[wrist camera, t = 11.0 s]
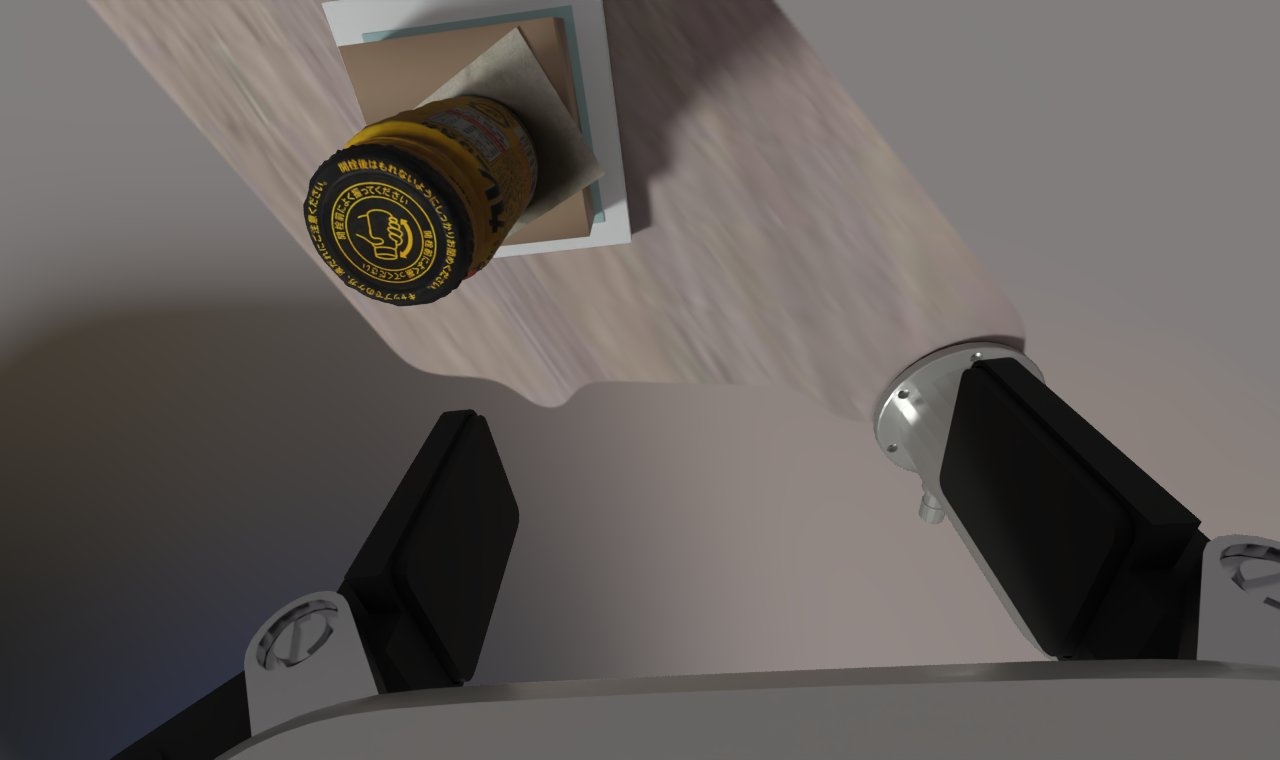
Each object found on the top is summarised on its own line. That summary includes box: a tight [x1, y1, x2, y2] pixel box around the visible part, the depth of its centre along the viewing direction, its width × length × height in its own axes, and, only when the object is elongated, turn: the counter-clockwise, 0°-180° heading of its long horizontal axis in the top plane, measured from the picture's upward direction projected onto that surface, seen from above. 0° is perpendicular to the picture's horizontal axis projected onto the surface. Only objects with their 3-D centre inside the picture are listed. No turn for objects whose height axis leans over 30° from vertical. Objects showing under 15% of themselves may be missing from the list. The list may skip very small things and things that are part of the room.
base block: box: [338, 17, 595, 246], centre depth 28 cm, size 10×10×4 cm
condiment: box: [303, 27, 605, 306], centre depth 22 cm, size 7×8×12 cm
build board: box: [322, 0, 632, 258], centre depth 30 cm, size 14×14×2 cm
